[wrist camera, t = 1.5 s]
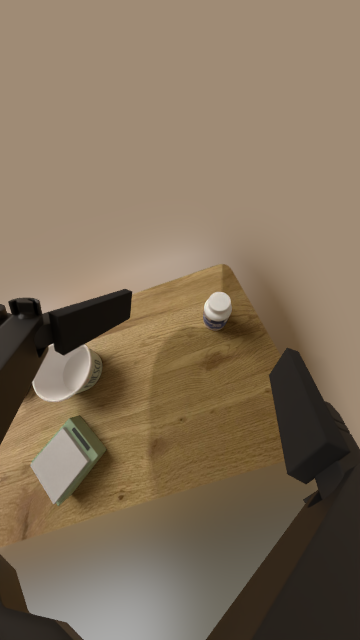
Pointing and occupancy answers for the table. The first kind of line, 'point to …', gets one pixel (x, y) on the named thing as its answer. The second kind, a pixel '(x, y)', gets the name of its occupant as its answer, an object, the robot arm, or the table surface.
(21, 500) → the table surface
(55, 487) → the scale
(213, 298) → the pill bottle
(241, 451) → the table surface
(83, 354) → the food container
